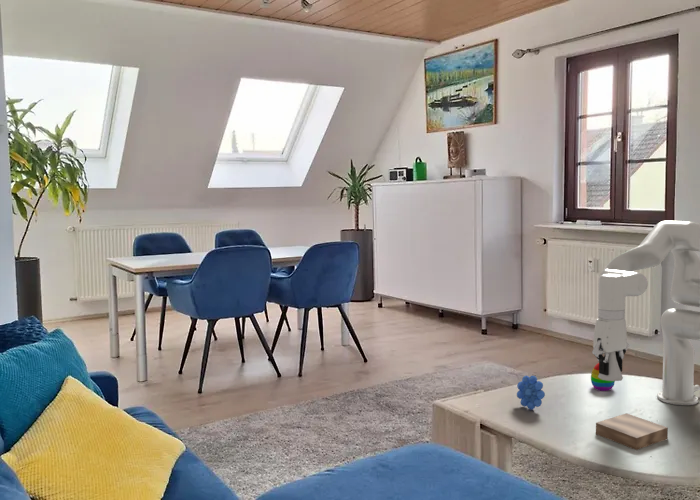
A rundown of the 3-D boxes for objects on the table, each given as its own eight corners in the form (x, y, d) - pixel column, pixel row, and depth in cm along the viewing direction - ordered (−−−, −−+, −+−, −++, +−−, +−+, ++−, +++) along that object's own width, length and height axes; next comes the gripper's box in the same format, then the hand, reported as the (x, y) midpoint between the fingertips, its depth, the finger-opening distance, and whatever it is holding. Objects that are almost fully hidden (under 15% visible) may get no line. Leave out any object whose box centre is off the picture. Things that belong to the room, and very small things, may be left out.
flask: (625, 382, 196) (625, 350, 195) (599, 381, 198) (600, 349, 197) (620, 375, 203) (621, 343, 202) (596, 374, 205) (596, 343, 204)
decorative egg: (598, 383, 243) (598, 357, 242) (619, 388, 237) (619, 361, 236) (586, 388, 238) (586, 362, 237) (607, 393, 232) (607, 366, 231)
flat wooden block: (626, 425, 203) (626, 413, 203) (667, 440, 191) (667, 427, 191) (595, 435, 197) (595, 422, 196) (636, 451, 185) (636, 438, 184)
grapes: (553, 411, 216) (553, 376, 215) (538, 416, 212) (539, 380, 211) (526, 402, 226) (526, 368, 225) (512, 406, 222) (512, 371, 221)
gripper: (620, 309, 205) (619, 365, 207) (581, 315, 198) (581, 374, 200) (640, 313, 199) (639, 371, 201) (601, 320, 191) (600, 380, 193)
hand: (610, 371), depth 200 cm, fingers closed on flask, 5 cm apart
